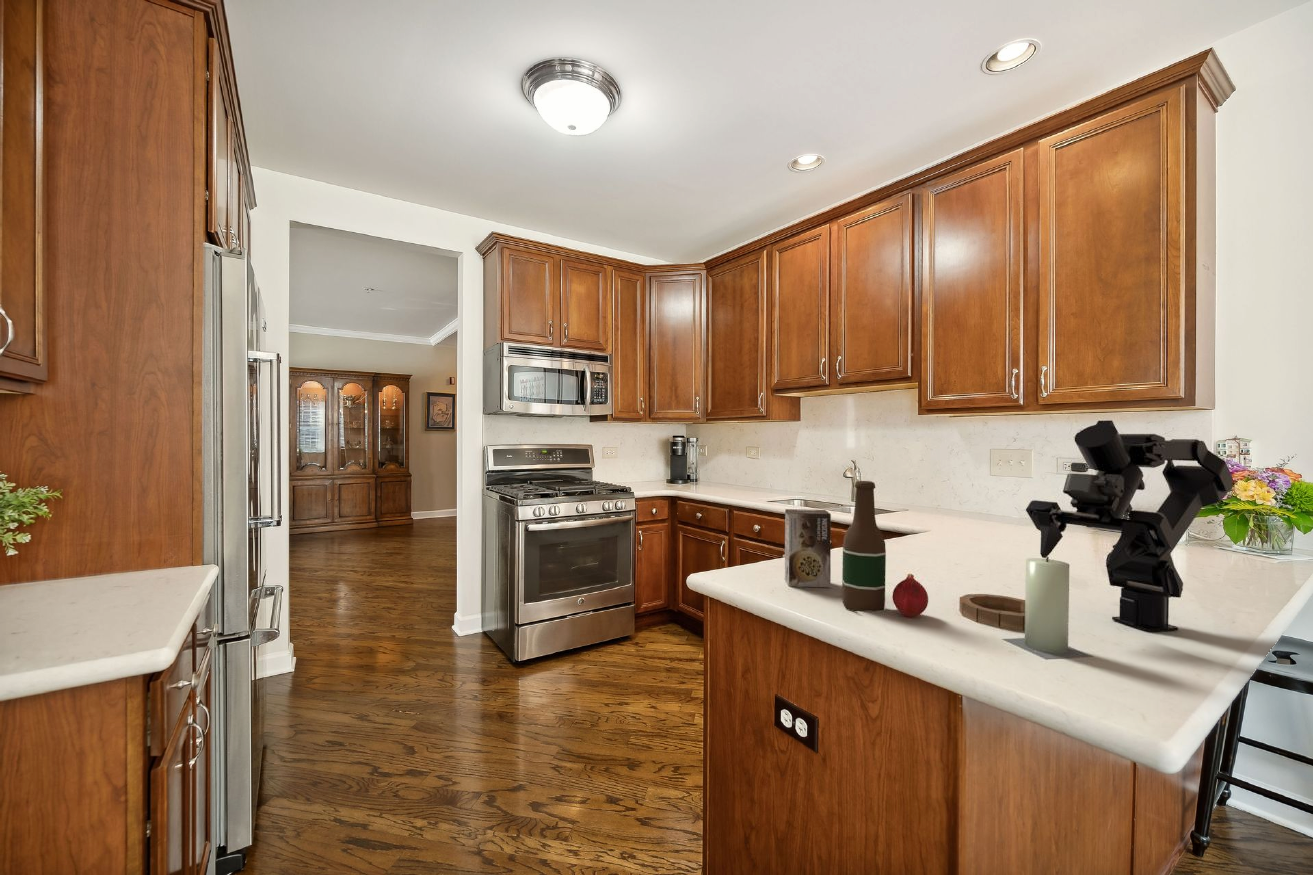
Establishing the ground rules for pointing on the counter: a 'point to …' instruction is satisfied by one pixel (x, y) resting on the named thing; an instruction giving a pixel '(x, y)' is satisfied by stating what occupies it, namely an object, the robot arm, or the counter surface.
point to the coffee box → (807, 548)
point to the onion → (910, 597)
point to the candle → (1047, 605)
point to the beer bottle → (864, 556)
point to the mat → (1071, 653)
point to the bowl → (994, 610)
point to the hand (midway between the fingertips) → (1073, 562)
